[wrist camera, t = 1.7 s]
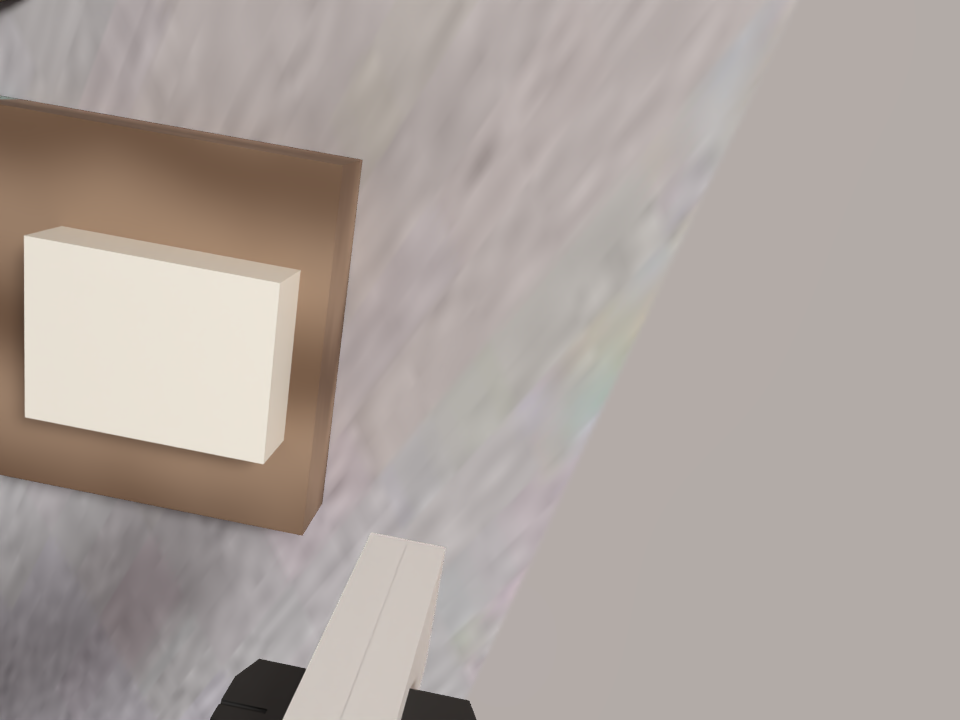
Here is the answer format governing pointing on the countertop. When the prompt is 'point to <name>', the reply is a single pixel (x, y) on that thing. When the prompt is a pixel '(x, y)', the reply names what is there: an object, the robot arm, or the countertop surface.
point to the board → (189, 225)
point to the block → (158, 342)
